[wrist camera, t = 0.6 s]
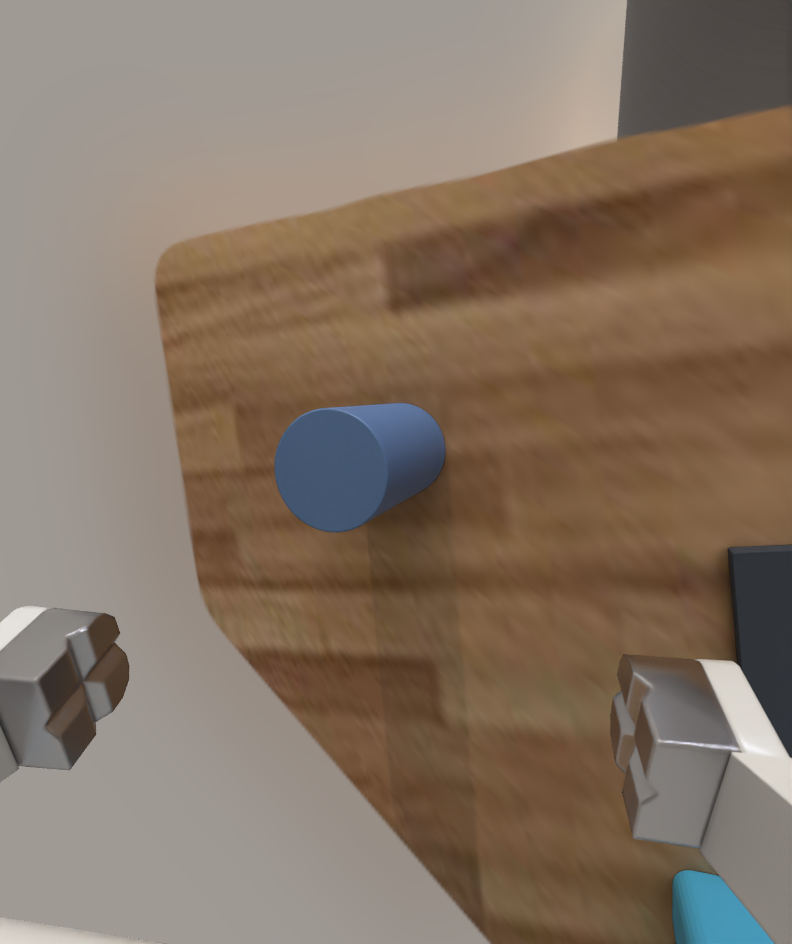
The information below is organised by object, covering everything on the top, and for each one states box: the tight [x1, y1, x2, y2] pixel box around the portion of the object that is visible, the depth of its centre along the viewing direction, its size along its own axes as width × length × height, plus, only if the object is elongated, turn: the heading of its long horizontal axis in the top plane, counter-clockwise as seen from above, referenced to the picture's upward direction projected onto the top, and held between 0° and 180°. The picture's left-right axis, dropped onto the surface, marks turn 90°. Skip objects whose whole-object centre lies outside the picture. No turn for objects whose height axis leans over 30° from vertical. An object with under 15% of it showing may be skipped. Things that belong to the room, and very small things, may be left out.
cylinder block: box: [275, 403, 445, 532], centre depth 30 cm, size 6×6×10 cm
